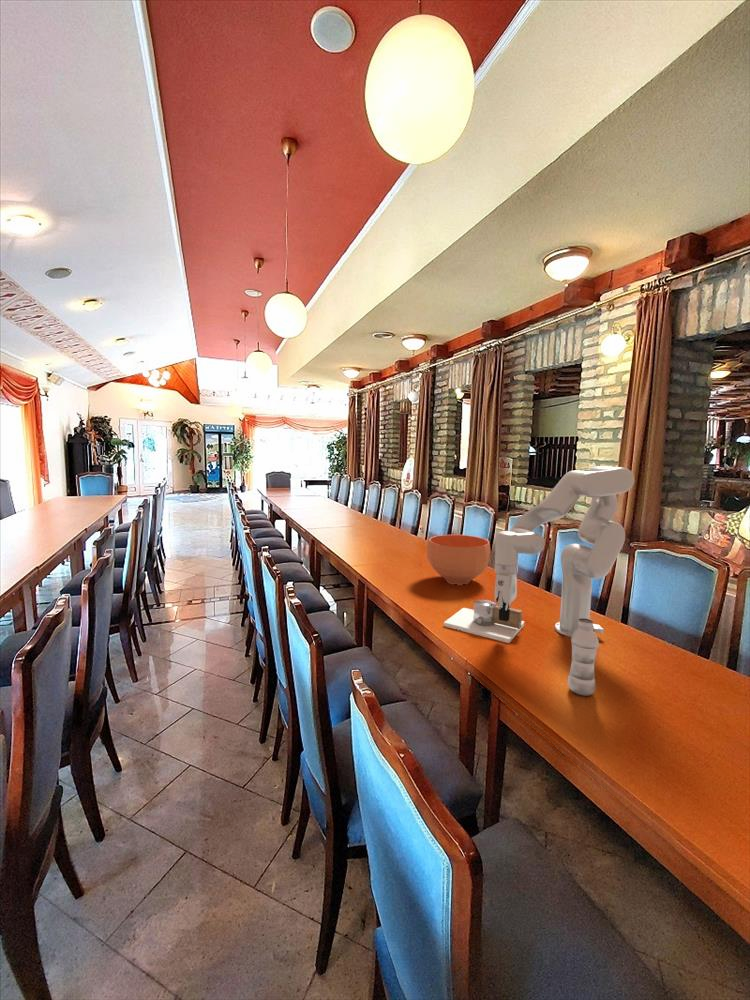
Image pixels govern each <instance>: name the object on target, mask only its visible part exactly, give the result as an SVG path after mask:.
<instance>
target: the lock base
mask: <svg viewBox="0 0 750 1000" xmlns="http://www.w3.org/2000/svg"><path fill="white" fill-rule="evenodd" d="M473 615H474V609H471V608H467V607H462V608H461V609H459V611H457V612H456V613H454V614H453V615H452V616H451V617H449V618H448V619H445V621H444V622H443V627H446V628H449V629H454V630H456V629H457V631H460V630H461V632H464V633H469V634H472V635H477V636H481V637H483V638H487V639H491V640H495V641H499V642H503V643H507V644H510V643H511V642H512V641H513V639H514V638H515V637H516V636H517V635H518V634H519V632H520V631H521V630H522V628H524V627H525V621H524V620H522V623H521V628H520V629H517V628H513V627H509V626H505V625H501V624H496V623H495V624H494V625H489V626H486V625H480V624H477V623H475V622H474V621H473Z"/></svg>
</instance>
